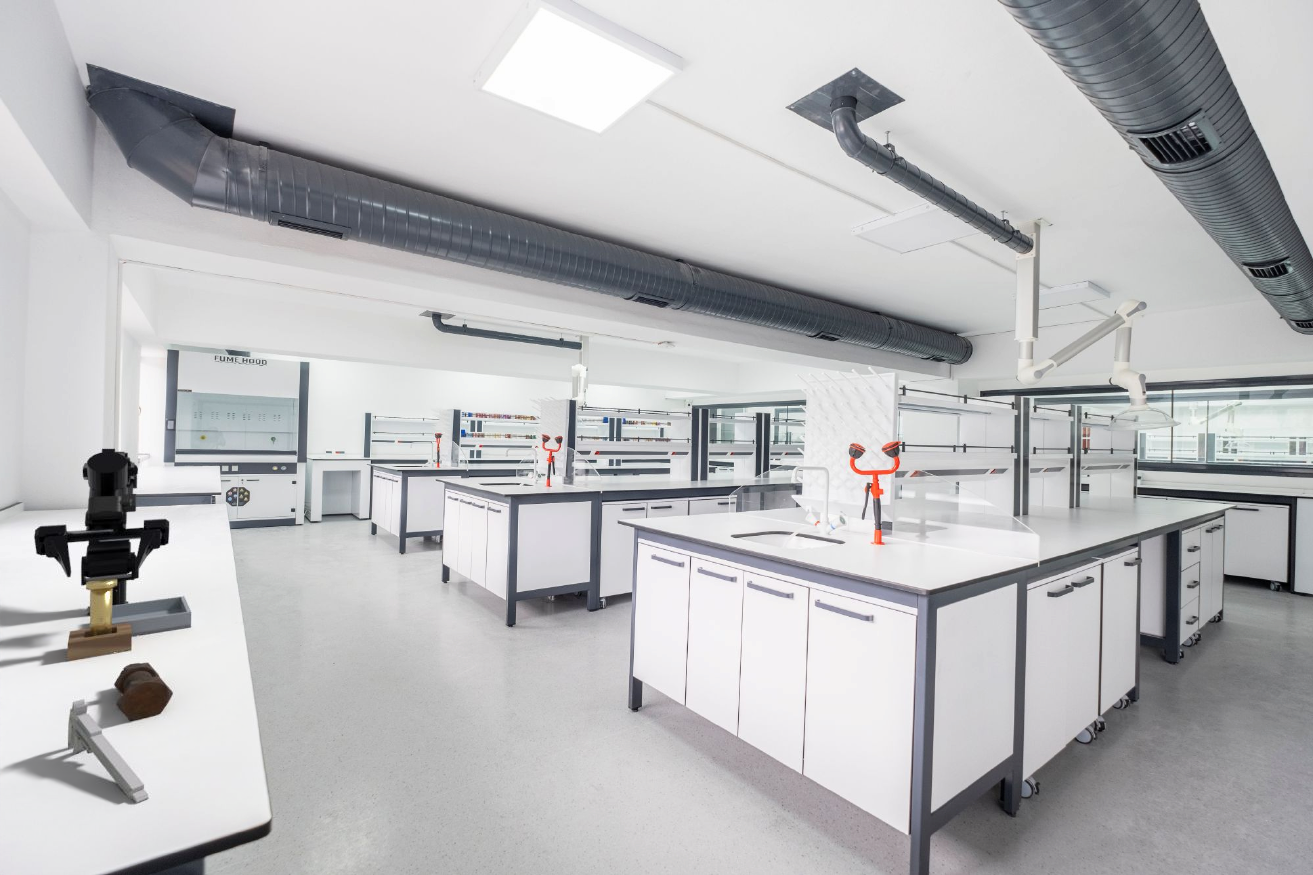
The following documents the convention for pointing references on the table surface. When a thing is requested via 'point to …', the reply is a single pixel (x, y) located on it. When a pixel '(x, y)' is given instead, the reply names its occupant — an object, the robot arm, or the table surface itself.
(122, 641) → the block
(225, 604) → the table surface
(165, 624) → the tray
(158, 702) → the bolt
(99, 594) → the pin
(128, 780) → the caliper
